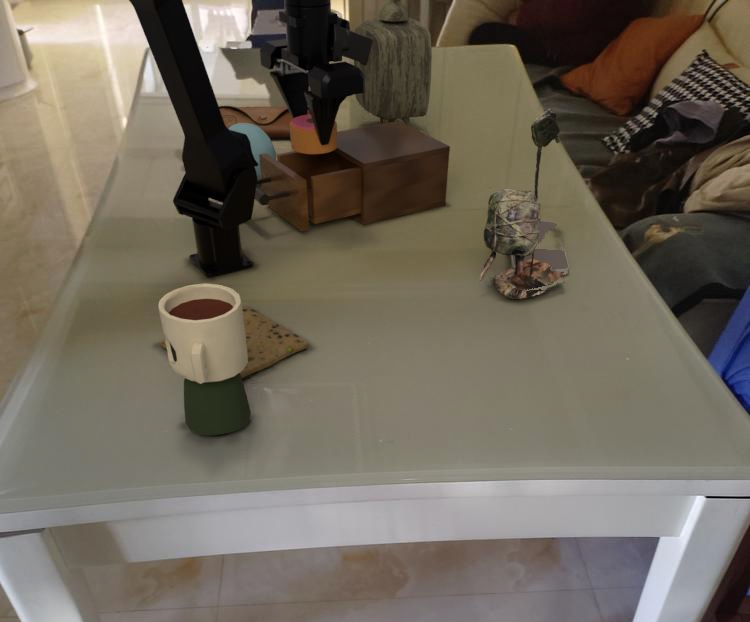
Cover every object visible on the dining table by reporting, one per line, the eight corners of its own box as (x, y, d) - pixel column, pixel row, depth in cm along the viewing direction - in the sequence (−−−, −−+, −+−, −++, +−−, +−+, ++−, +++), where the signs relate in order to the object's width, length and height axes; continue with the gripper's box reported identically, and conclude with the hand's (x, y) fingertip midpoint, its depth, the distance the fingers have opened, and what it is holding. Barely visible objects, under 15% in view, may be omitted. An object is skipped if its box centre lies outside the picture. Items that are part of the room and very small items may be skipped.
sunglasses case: (214, 139, 133) (210, 98, 132) (217, 149, 140) (214, 110, 139) (315, 137, 135) (312, 97, 134) (314, 147, 142) (311, 109, 140)
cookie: (158, 345, 84) (156, 337, 83) (245, 308, 90) (244, 301, 89) (222, 389, 77) (221, 382, 77) (310, 347, 84) (310, 339, 83)
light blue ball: (197, 119, 117) (273, 115, 116) (209, 177, 123) (281, 174, 122) (187, 134, 112) (266, 130, 111) (200, 194, 118) (275, 191, 117)
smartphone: (513, 267, 97) (505, 219, 108) (512, 274, 98) (505, 225, 109) (570, 270, 97) (557, 221, 108) (569, 276, 98) (556, 227, 108)
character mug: (190, 391, 77) (168, 273, 69) (259, 390, 78) (246, 272, 69) (174, 458, 69) (147, 334, 61) (251, 457, 70) (235, 333, 61)
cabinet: (363, 225, 109) (363, 163, 103) (318, 194, 117) (316, 135, 111) (445, 205, 114) (450, 146, 108) (396, 177, 123) (398, 120, 117)
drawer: (270, 238, 103) (266, 188, 98) (233, 207, 110) (228, 159, 106) (383, 212, 110) (384, 164, 105) (341, 185, 117) (340, 139, 113)
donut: (345, 149, 103) (345, 123, 101) (304, 157, 101) (302, 130, 98) (323, 136, 107) (322, 110, 105) (283, 143, 105) (281, 117, 102)
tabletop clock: (427, 143, 135) (437, -24, 118) (380, 149, 133) (383, -21, 116) (396, 120, 145) (401, -38, 128) (352, 124, 142) (351, -36, 125)
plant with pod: (469, 274, 98) (477, 109, 84) (554, 266, 98) (576, 101, 84) (482, 305, 92) (493, 134, 78) (572, 297, 93) (599, 125, 79)
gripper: (403, 10, 90) (399, 147, 100) (329, -15, 101) (332, 110, 112) (320, 20, 85) (325, 162, 96) (253, -8, 97) (264, 121, 108)
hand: (313, 137), depth 103 cm, fingers closed on donut, 6 cm apart
